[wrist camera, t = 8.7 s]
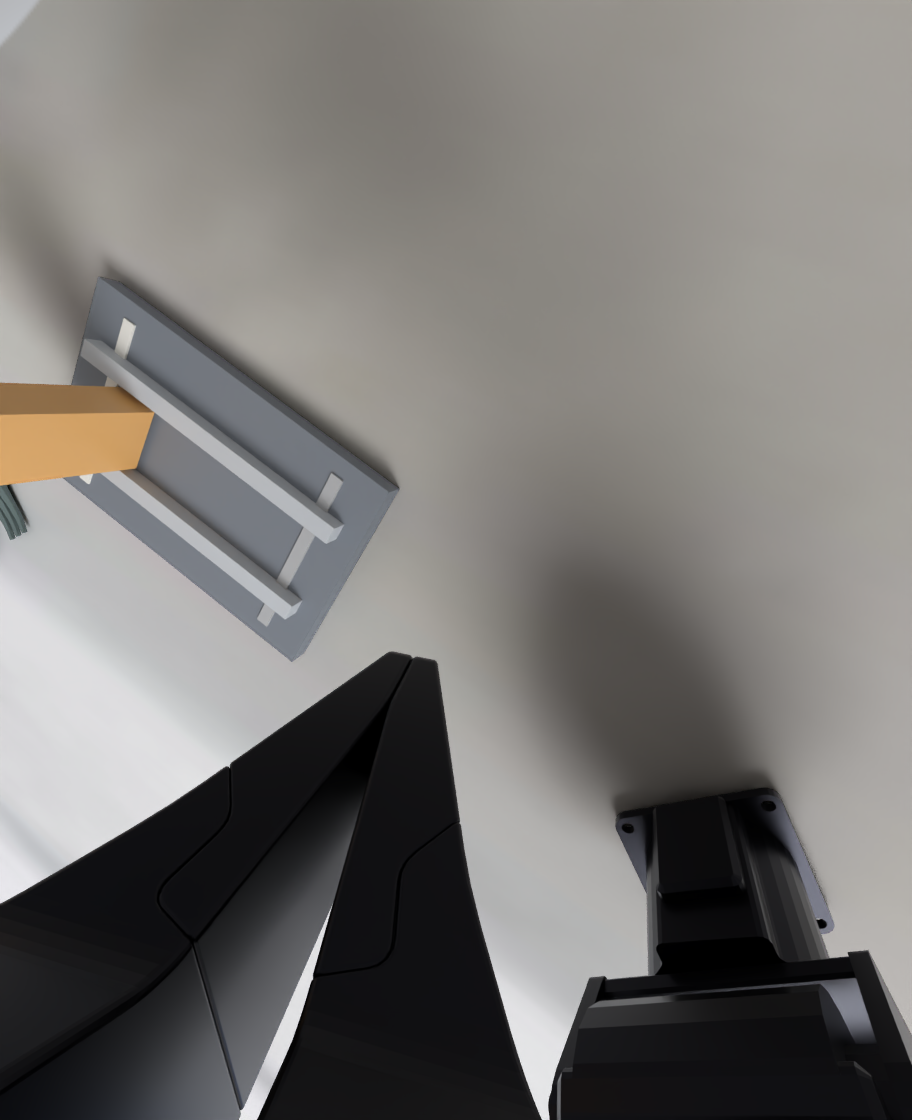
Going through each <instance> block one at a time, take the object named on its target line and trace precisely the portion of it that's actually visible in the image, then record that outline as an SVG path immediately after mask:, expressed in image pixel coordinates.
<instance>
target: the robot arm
mask: <svg viewBox="0 0 912 1120" xmlns="http://www.w3.org/2000/svg"><path fill="white" fill-rule="evenodd" d="M766 800H770V801H772V803H771V804H769V805H768V804H763V803H762V802H763V801H766ZM459 823H460V818H459V811H458V804H457V797H456V790H455V783H454V776H453V769H452V762H451V755H450V748H449V741H448V734H447V727H446V720H445V713H444V706H443V699H442V692H441V685H440V678H439V671H438V664H437V662H436V661H435V660H432V659H427V658H422V657H415V658H412V656H411V655H407V654H403V653H398V652H388V653H386V654H385V655H384V656H382V657H381V658H379V659H378V660H377V661H375V662H374V663H372V664H371V665H369V666H368V667H367V668H365V669H364V670H362V671H361V672H359V673H358V674H357V675H355V676H354V677H352V678H351V679H350V680H348V681H347V682H345V683H344V684H342V685H341V686H340V687H338V688H337V689H335V690H334V691H332V692H331V693H330V694H328V695H327V696H325V697H324V698H323V699H321V700H320V701H318V702H317V703H315V704H314V705H313V706H311V707H310V708H308V709H307V710H305V711H304V712H303V713H301V714H300V715H298V716H297V717H296V718H294V719H293V720H291V721H290V722H288V723H287V724H286V725H284V726H283V727H281V728H280V729H278V730H277V731H276V732H274V733H273V734H271V735H270V736H269V737H267V738H266V739H264V740H263V741H261V742H260V743H259V744H257V745H256V746H254V747H253V748H251V749H250V750H249V751H247V752H246V753H244V754H243V755H242V756H240V757H239V758H237V759H236V760H234V761H233V762H232V763H231V764H230V768H229V767H227V766H226V767H224V768H223V769H221V770H220V771H218V772H217V773H216V774H214V775H213V776H211V777H210V778H209V779H207V780H206V781H204V782H203V783H201V784H200V785H198V786H197V787H195V788H194V789H192V790H191V791H189V792H188V793H186V794H185V795H183V796H182V797H180V798H179V799H177V800H176V801H174V802H173V803H171V804H170V805H168V806H167V807H165V808H163V809H162V810H160V811H158V812H157V813H155V814H154V815H152V816H150V817H149V818H147V819H145V820H144V821H142V822H140V823H139V824H137V825H136V826H134V827H132V828H131V829H129V830H127V831H126V832H124V833H122V834H120V835H119V836H117V837H115V838H114V839H112V840H110V841H109V842H107V843H105V844H103V845H102V846H100V847H98V848H97V849H95V850H93V851H91V852H90V853H88V854H86V855H85V856H83V857H81V858H79V859H78V860H76V861H74V862H73V863H71V864H69V865H67V866H66V867H64V868H62V869H61V870H59V871H57V872H55V873H54V874H52V875H50V876H49V877H47V878H45V879H44V880H42V881H40V882H38V883H37V884H35V885H33V886H32V887H30V888H28V889H26V890H25V891H23V892H21V893H19V894H17V895H16V896H14V897H12V898H10V899H8V900H6V901H5V902H3V903H0V1120H239V1118H240V1115H241V1112H240V1110H242V1109H243V1108H244V1106H245V1103H246V1101H247V1099H248V1096H249V1094H250V1092H251V1090H252V1087H253V1085H254V1083H255V1080H256V1078H257V1076H258V1074H259V1071H260V1069H261V1067H262V1064H263V1062H264V1060H265V1057H266V1055H267V1053H268V1051H269V1048H270V1046H271V1044H272V1041H273V1039H274V1037H275V1035H276V1032H277V1030H278V1028H279V1025H280V1023H281V1021H282V1019H283V1016H284V1014H285V1012H286V1009H287V1007H288V1005H289V1002H290V1000H291V998H292V996H293V993H294V991H295V989H296V986H297V984H298V982H299V980H300V977H301V975H302V973H303V970H304V968H305V966H306V963H307V961H308V959H309V957H310V954H311V952H312V950H313V947H314V945H315V943H316V941H317V938H318V936H319V934H320V931H321V929H322V927H323V924H324V922H325V920H326V918H327V915H328V913H329V911H330V908H331V906H332V909H331V912H330V916H329V919H328V923H327V927H326V930H325V934H324V937H323V941H322V944H321V948H320V952H319V955H318V959H317V962H316V966H315V969H314V973H313V980H312V982H311V984H310V988H309V991H308V995H307V998H306V1001H305V1005H304V1008H303V1011H302V1014H301V1017H300V1020H299V1023H298V1026H297V1029H296V1032H295V1035H294V1037H293V1040H292V1043H291V1045H290V1047H289V1050H288V1052H287V1054H286V1056H285V1059H284V1061H283V1063H282V1065H281V1068H280V1070H279V1072H278V1074H277V1077H276V1079H275V1081H274V1083H273V1085H272V1088H271V1090H270V1092H269V1094H268V1097H267V1099H266V1101H265V1103H264V1106H263V1108H262V1110H261V1112H260V1115H259V1117H258V1119H257V1120H542V1119H541V1117H540V1115H539V1112H538V1110H537V1107H536V1105H535V1102H534V1100H533V1097H532V1094H531V1092H530V1089H529V1086H528V1083H527V1081H526V1078H525V1075H524V1072H523V1069H522V1066H521V1063H520V1060H519V1057H518V1054H517V1050H516V1047H515V1044H514V1041H513V1037H512V1034H511V1031H510V1027H509V1024H508V1020H507V1017H506V1013H505V1010H504V1006H503V1002H502V999H501V995H500V992H499V988H498V985H497V981H496V978H495V974H494V971H493V967H492V964H491V960H490V957H489V953H488V949H487V946H486V942H485V939H484V935H483V932H482V928H481V925H480V921H479V916H478V912H477V908H476V904H475V900H474V896H473V892H472V888H471V884H470V878H469V873H468V867H467V861H466V856H465V850H464V844H463V837H462V830H461V825H460V824H459ZM625 823H628V824H631V825H632V826H631V827H627V826H625V825H624V824H625ZM616 830H617V832H618V834H619V836H620V839H621V841H622V843H623V845H624V847H625V849H626V851H627V853H628V855H629V857H630V860H631V862H632V864H633V866H634V868H635V870H636V872H637V874H638V876H639V878H640V881H641V883H642V885H643V887H644V889H645V891H646V893H647V935H648V976H639V977H628V978H618V979H607V978H606V977H605V976H601V977H591V978H589V981H588V983H587V986H586V989H585V992H584V994H583V997H582V1000H581V1003H580V1005H579V1008H578V1011H577V1014H576V1017H575V1019H574V1022H573V1025H572V1028H571V1030H570V1033H569V1036H568V1039H567V1041H566V1044H565V1047H564V1050H563V1052H562V1055H561V1058H560V1061H559V1063H558V1066H557V1069H556V1072H555V1076H554V1080H553V1084H552V1091H551V1094H550V1097H549V1104H548V1109H549V1116H550V1120H912V1035H911V1033H910V1031H909V1029H908V1027H907V1025H906V1023H905V1021H904V1019H903V1017H902V1015H901V1013H900V1011H899V1009H898V1007H897V1005H896V1004H895V1002H894V1000H893V998H892V996H891V994H890V992H889V990H888V988H887V986H886V984H885V982H884V980H883V978H882V976H881V974H880V972H879V970H878V968H877V966H876V964H875V962H874V960H873V959H872V957H871V955H870V953H869V951H868V950H866V951H856V952H848V955H849V957H838V958H829V955H828V952H827V950H826V947H825V944H824V941H823V938H822V935H821V934H826V933H829V932H831V931H832V930H833V929H834V922H833V919H832V916H831V914H830V911H829V909H828V907H827V904H826V902H825V900H824V897H823V895H822V893H821V890H820V888H819V886H818V883H817V881H816V879H815V876H814V874H813V872H812V869H811V867H810V865H809V862H808V860H807V858H806V855H805V853H804V851H803V849H802V846H801V844H800V842H799V839H798V837H797V835H796V832H795V830H794V828H793V825H792V823H791V821H790V818H789V816H788V814H787V811H786V809H785V807H784V804H783V802H782V800H781V797H780V796H779V794H778V793H777V792H776V791H774V790H773V789H769V788H759V789H753V790H747V791H741V792H736V793H730V794H724V795H718V796H711V797H706V798H700V799H694V800H688V801H682V802H677V803H671V804H665V805H659V806H655V807H649V808H643V809H637V810H632V811H626V812H622V813H619V814H618V816H617V818H616ZM332 904H333V905H332ZM816 918H820V920H816Z"/></svg>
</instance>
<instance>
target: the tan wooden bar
mask: <svg viewBox="0 0 912 1120" xmlns="http://www.w3.org/2000/svg"><path fill="white" fill-rule="evenodd" d="M154 413H155V412H153V411H152V410H151V409H149V408H148V407H147V406H145V405H144V404H143V403H142V402H140V401H139V400H138V399H136V398H135V397H134V396H132V395H131V394H130V393H129V392H127V391H126V390H125V389H123V388H122V387H105V386H76V385H48V384H19V383H0V486H1V485H8V484H16V483H24V482H32V481H40V480H48V479H56V478H64V477H72V476H80V475H88V474H96V473H104V472H111V471H119V470H127V469H135V468H136V467H137V464H138V461H139V458H140V455H141V452H142V449H143V446H144V443H145V440H146V437H147V434H148V431H149V428H150V425H151V422H152V419H153V416H154Z"/></svg>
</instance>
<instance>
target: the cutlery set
mask: <svg viewBox="0 0 912 1120" xmlns="http://www.w3.org/2000/svg"><path fill="white" fill-rule="evenodd" d="M0 520H1V522H2V523H3V525H4V527H5V529H6V531H7V534H8V536H9V538H10V540H12V539H15V535H16V537H17V536H20V535H21V532H22V533H25V532H27V529H26V526H25V522H24V519H23V516H22V514H21V512H20V510H19V509H18V507H17V505H16V503H15V501H14V499H13V497H12V495H11V493H10V491H9V489H8V487H7V485H1V486H0ZM19 528H20V529H19ZM20 530H21V532H20ZM14 533H15V535H14Z"/></svg>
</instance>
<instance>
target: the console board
mask: <svg viewBox="0 0 912 1120" xmlns="http://www.w3.org/2000/svg"><path fill="white" fill-rule="evenodd" d="M71 385H76V386H105V387H122V388H123V389H125V390H126V391H127V392H129V393H130V394H131V395H132V396H134V397H135V398H136V399H138V400H139V401H140V402H142V403H143V404H144V405H145V406H147V407H148V408H149V409H151V410H152V411H153V412H155V413H154V416H153V419H152V422H151V425H150V428H149V431H148V434H147V437H146V440H145V443H144V446H143V449H142V452H141V455H140V458H139V461H138V464H137V467H136V468H135V469H127V470H119V471H111V472H104V473H96V474H88V475H80V476H72V477H64V478H63V479H65V480H66V481H67V482H68V483H70V484H71V485H72V486H73V487H75V488H76V489H77V490H78V491H80V492H81V493H82V494H83V495H85V496H86V497H87V498H88V499H90V500H91V501H92V502H93V503H95V504H96V505H97V506H98V507H100V508H101V509H102V510H103V511H104V512H106V513H107V514H108V515H109V516H111V517H112V518H113V519H114V520H116V521H117V522H118V523H119V524H121V525H122V526H123V527H124V528H126V529H127V530H128V531H129V532H131V533H132V534H133V535H134V536H136V537H137V538H138V539H139V540H141V541H142V542H143V543H144V544H146V545H147V546H148V547H149V548H151V549H152V550H153V551H154V552H156V553H157V554H158V555H159V556H161V557H162V558H163V559H164V560H166V561H167V562H168V563H169V564H171V565H172V566H173V567H174V568H176V569H177V570H178V571H179V572H181V573H182V574H183V575H184V576H186V577H187V578H188V579H189V580H190V581H192V582H193V583H194V584H195V585H197V586H198V587H199V588H200V589H202V590H203V591H204V592H205V593H207V594H208V595H209V596H210V597H212V598H213V599H214V600H215V601H217V602H218V603H219V604H220V605H222V606H223V607H224V608H225V609H227V610H228V611H229V612H230V613H232V614H233V615H234V616H235V617H237V618H238V619H239V620H240V621H242V622H243V623H244V624H245V625H247V626H248V627H249V628H250V629H252V630H253V631H254V632H255V633H257V634H258V635H259V636H260V637H262V638H263V639H264V640H265V641H267V642H268V643H269V644H270V645H272V646H273V647H274V648H275V649H277V650H278V651H279V652H280V653H281V654H283V655H284V656H285V657H286V658H288V659H289V660H290V661H291V662H292V661H294V660H295V659H296V658H298V657H299V656H300V655H302V654H303V653H304V652H305V650H306V649H307V647H308V645H309V643H310V642H311V640H312V638H313V637H314V635H315V633H316V631H317V630H318V628H319V626H320V625H321V623H322V621H323V619H324V618H325V616H326V614H327V613H328V611H329V609H330V607H331V606H332V604H333V602H334V601H335V599H336V597H337V595H338V594H339V592H340V590H341V589H342V587H343V585H344V583H345V582H346V580H347V578H348V576H349V575H350V573H351V571H352V570H353V568H354V566H355V564H356V563H357V561H358V559H359V558H360V556H361V554H362V552H363V551H364V549H365V547H366V546H367V544H368V542H369V540H370V539H371V537H372V535H373V534H374V532H375V530H376V528H377V527H378V525H379V523H380V522H381V520H382V518H383V516H384V515H385V513H386V511H387V509H388V508H389V506H390V504H391V503H392V501H393V499H394V497H395V496H396V494H397V492H398V491H399V488H398V487H396V486H395V485H394V484H392V483H391V482H390V481H388V480H387V479H385V478H384V477H383V476H381V475H380V474H379V473H377V472H376V471H375V470H373V469H372V468H371V467H369V466H368V465H367V464H365V463H364V462H362V461H361V460H360V459H358V458H357V457H356V456H354V455H353V454H352V453H350V452H349V451H348V450H346V449H345V448H344V447H342V446H341V445H340V444H338V443H337V442H335V441H334V440H333V439H331V438H330V437H329V436H327V435H326V434H325V433H323V432H322V431H321V430H319V429H318V428H317V427H315V426H314V425H312V424H311V423H310V422H308V421H307V420H306V419H304V418H303V417H302V416H300V415H299V414H298V413H296V412H295V411H294V410H292V409H291V408H290V407H288V406H287V405H285V404H284V403H283V402H281V401H280V400H279V399H277V398H276V397H275V396H273V395H272V394H271V393H269V392H268V391H267V390H265V389H264V388H262V387H261V386H260V385H258V384H257V383H256V382H254V381H253V380H252V379H250V378H249V377H248V376H246V375H245V374H244V373H242V372H241V371H239V370H238V369H237V368H235V367H234V366H233V365H231V364H230V363H229V362H227V361H226V360H225V359H223V358H222V357H221V356H219V355H218V354H217V353H215V352H214V351H212V350H211V349H210V348H208V347H207V346H206V345H204V344H203V343H202V342H200V341H199V340H198V339H196V338H195V337H194V336H192V335H191V334H189V333H188V332H187V331H185V330H184V329H183V328H181V327H180V326H179V325H177V324H176V323H175V322H173V321H172V320H171V319H169V318H168V317H167V316H165V315H164V314H162V313H161V312H160V311H158V310H157V309H156V308H154V307H153V306H152V305H150V304H149V303H148V302H146V301H145V300H144V299H142V298H141V297H139V296H138V295H137V294H135V293H134V292H133V291H131V290H130V289H129V288H127V287H126V286H125V285H123V284H122V283H121V282H119V281H115V280H111V279H107V278H103V277H98V280H97V284H96V288H95V292H94V296H93V300H92V304H91V308H90V312H89V316H88V320H87V324H86V328H85V332H84V336H83V340H82V344H81V348H80V352H79V356H78V360H77V364H76V368H75V372H74V376H73V380H72V384H71Z"/></svg>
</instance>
